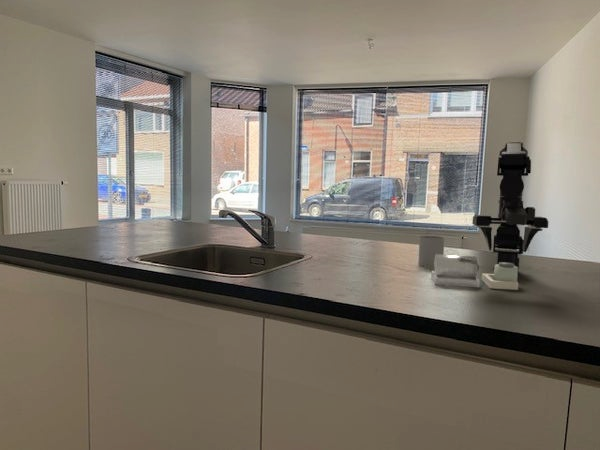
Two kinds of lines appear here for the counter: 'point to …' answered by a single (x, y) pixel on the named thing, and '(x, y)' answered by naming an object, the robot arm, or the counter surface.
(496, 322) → the counter surface
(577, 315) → the counter surface
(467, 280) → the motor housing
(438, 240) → the cup
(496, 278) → the frosted cube with recess
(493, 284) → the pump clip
